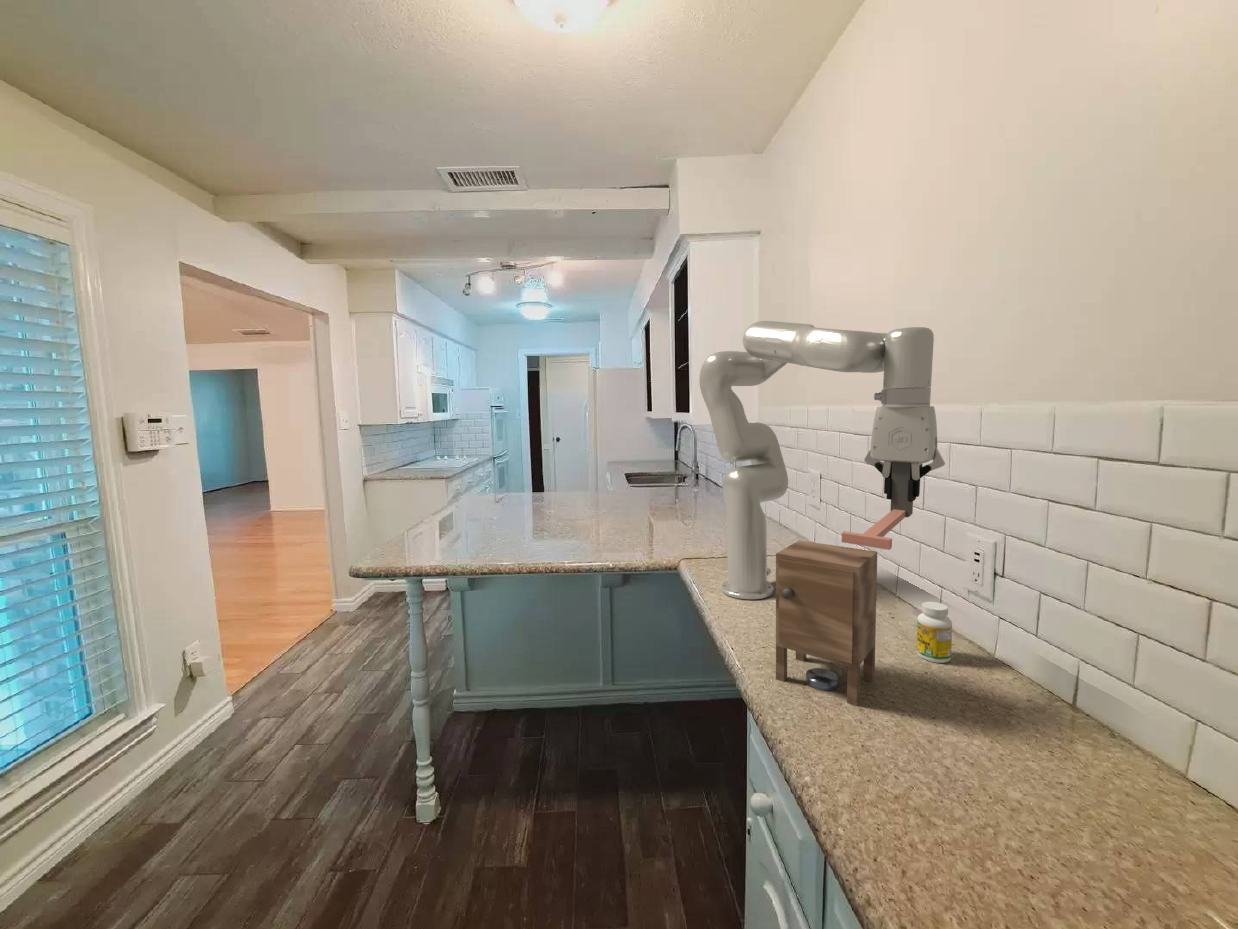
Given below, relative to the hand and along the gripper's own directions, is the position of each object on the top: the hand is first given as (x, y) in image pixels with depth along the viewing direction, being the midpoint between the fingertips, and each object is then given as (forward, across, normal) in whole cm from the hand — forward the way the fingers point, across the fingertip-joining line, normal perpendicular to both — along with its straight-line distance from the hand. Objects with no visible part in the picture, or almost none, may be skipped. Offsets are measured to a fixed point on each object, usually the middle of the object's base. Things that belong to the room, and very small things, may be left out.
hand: (901, 498), depth 94 cm
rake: (+4, 0, -9) cm, 10 cm away
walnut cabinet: (+29, -6, -20) cm, 35 cm away
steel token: (+29, -6, -22) cm, 37 cm away
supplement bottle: (+29, +7, 0) cm, 29 cm away
